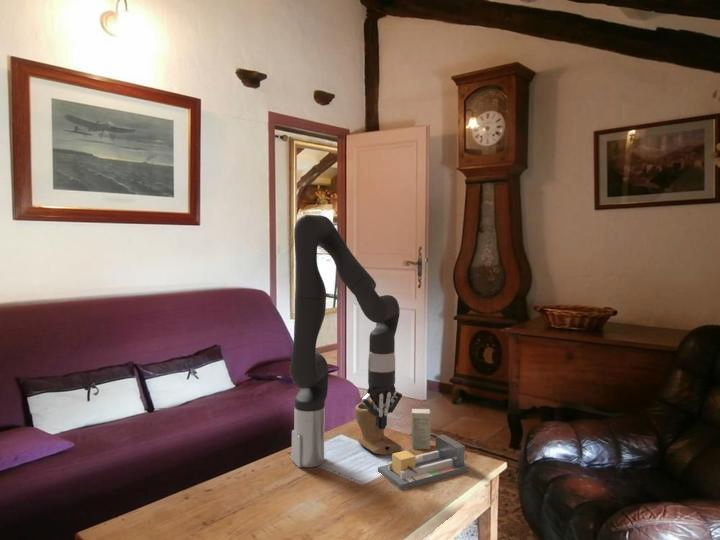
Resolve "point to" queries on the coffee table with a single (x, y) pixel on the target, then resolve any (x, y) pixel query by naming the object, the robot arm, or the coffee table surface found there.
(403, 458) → the gauge carriage
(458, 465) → the grey end plate
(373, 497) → the coffee table surface
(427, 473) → the base
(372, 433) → the brown clay boot
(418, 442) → the skincare box
